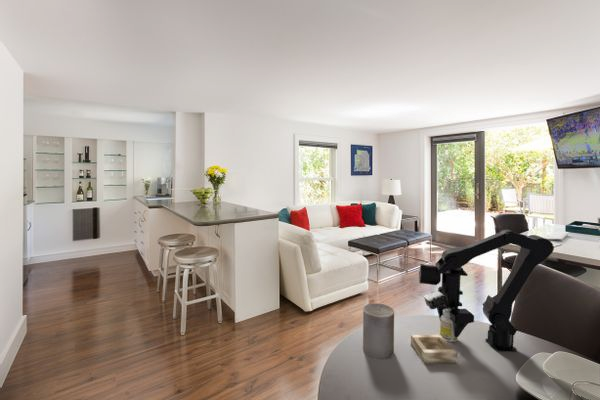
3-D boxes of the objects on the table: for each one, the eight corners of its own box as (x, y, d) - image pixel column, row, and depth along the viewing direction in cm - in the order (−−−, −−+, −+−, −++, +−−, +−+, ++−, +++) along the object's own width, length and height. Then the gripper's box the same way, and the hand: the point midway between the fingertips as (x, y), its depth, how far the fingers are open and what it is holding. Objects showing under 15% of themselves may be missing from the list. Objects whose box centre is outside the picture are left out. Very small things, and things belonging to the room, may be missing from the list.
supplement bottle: (453, 334, 105) (454, 307, 104) (459, 342, 99) (461, 314, 99) (437, 333, 105) (438, 307, 105) (443, 341, 100) (444, 314, 99)
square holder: (440, 344, 98) (440, 334, 98) (456, 363, 88) (457, 352, 88) (410, 344, 98) (410, 334, 98) (423, 363, 88) (424, 352, 88)
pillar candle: (379, 339, 101) (379, 297, 100) (400, 354, 93) (401, 308, 92) (356, 346, 97) (356, 302, 96) (376, 363, 88) (377, 315, 87)
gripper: (416, 277, 110) (415, 317, 111) (441, 297, 92) (439, 345, 93) (445, 277, 110) (443, 317, 112) (476, 297, 92) (474, 344, 93)
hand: (448, 329), depth 102 cm, fingers open, 9 cm apart
